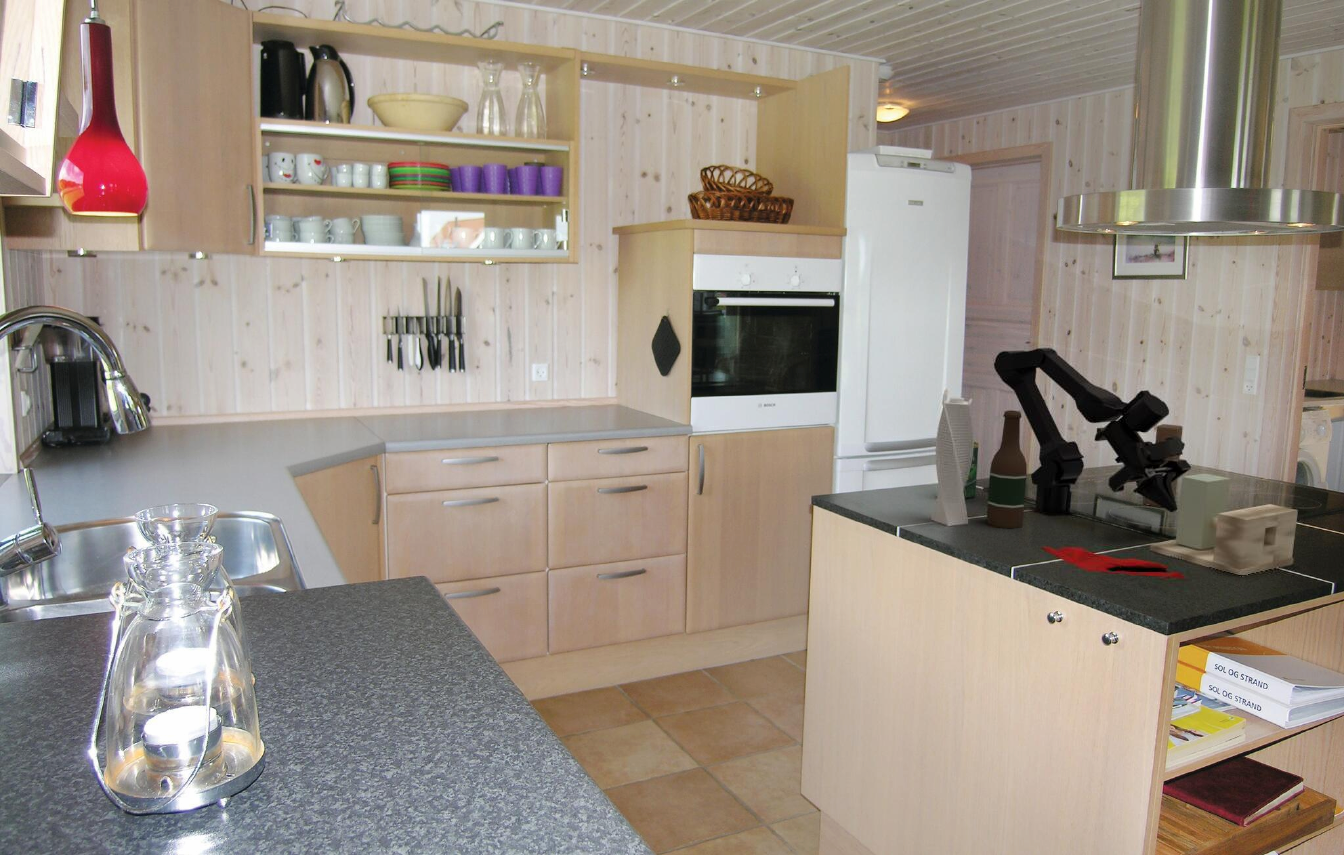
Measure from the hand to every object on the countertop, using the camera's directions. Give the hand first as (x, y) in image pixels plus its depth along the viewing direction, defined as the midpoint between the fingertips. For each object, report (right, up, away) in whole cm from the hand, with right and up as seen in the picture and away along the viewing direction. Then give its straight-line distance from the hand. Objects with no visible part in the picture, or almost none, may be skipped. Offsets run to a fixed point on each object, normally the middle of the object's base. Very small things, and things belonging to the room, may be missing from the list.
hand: (1174, 511), depth 186 cm
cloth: (-19, -9, -12) cm, 24 cm away
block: (+4, -6, -6) cm, 9 cm away
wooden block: (+15, -1, +35) cm, 38 cm away
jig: (+5, -8, -8) cm, 12 cm away
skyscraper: (-40, -4, +16) cm, 43 cm away
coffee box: (-31, 0, +37) cm, 48 cm away
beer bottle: (-28, -4, +14) cm, 32 cm away
